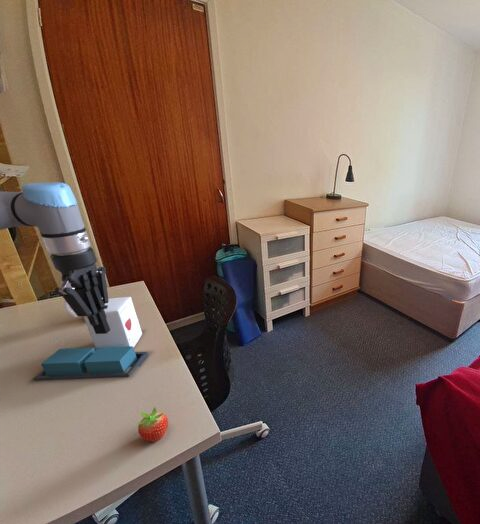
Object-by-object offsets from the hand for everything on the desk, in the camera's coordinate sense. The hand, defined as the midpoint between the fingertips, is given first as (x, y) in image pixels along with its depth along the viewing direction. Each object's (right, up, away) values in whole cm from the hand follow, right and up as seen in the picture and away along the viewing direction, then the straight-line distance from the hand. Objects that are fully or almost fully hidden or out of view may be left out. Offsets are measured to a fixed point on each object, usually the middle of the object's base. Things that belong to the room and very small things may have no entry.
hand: (103, 331), depth 75 cm
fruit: (+24, -21, -13) cm, 34 cm away
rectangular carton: (-7, -8, +14) cm, 18 cm away
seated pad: (-11, -12, +4) cm, 17 cm away
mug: (-27, -2, +26) cm, 38 cm away
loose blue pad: (-1, -11, +5) cm, 12 cm away
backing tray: (-6, -12, +5) cm, 14 cm away
